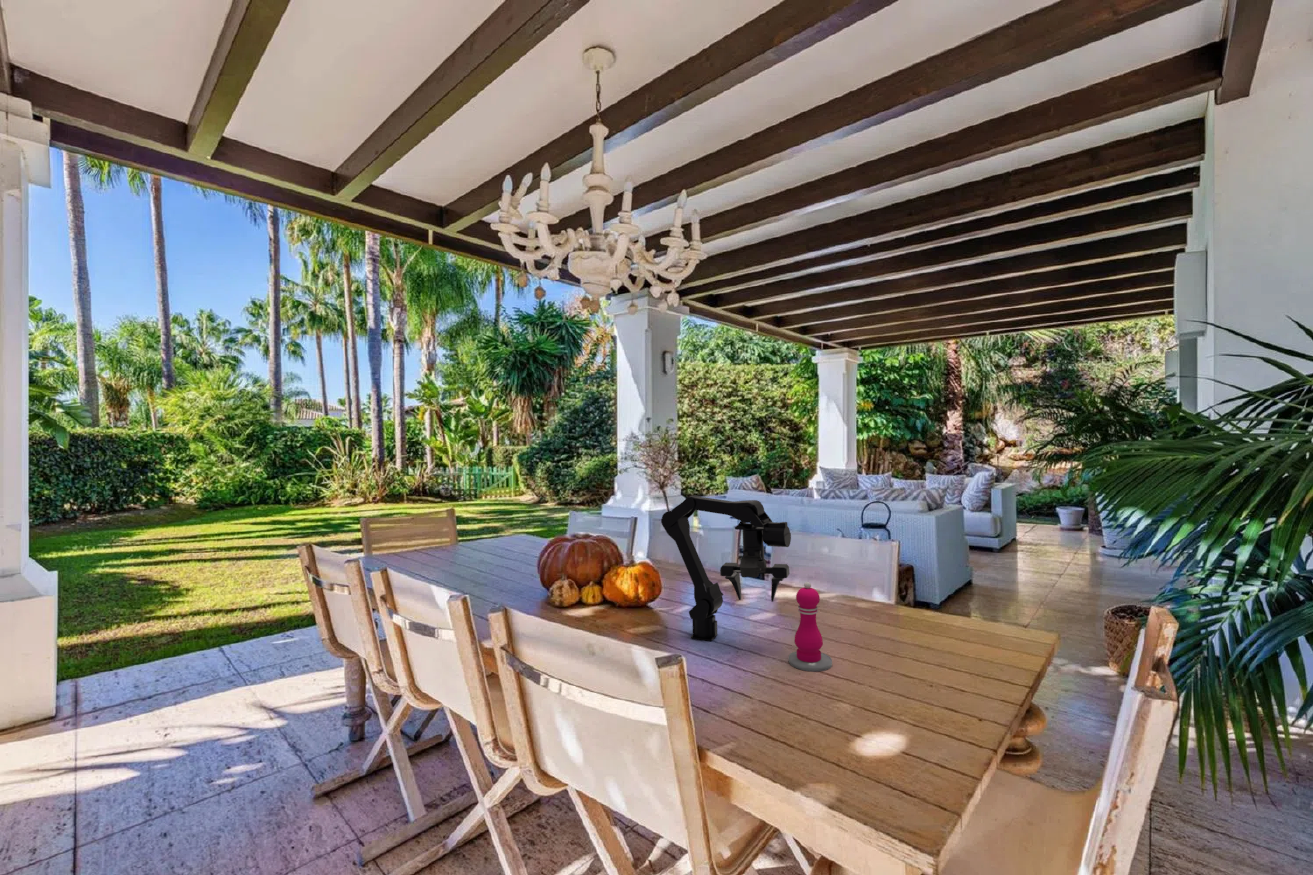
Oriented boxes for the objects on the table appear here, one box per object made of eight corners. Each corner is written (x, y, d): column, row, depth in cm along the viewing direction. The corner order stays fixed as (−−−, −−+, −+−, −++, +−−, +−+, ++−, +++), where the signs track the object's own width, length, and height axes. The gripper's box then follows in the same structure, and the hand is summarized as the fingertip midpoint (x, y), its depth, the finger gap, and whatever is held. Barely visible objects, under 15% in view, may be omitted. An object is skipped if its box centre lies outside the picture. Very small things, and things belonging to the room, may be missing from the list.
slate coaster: (785, 667, 149) (785, 663, 149) (792, 652, 160) (792, 648, 160) (829, 674, 145) (829, 669, 145) (834, 657, 155) (834, 653, 155)
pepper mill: (820, 652, 156) (819, 578, 155) (825, 663, 149) (824, 585, 148) (793, 652, 156) (791, 578, 156) (796, 663, 149) (795, 585, 149)
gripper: (713, 550, 160) (716, 606, 160) (782, 551, 154) (785, 610, 154) (723, 542, 171) (726, 596, 171) (788, 543, 164) (791, 599, 164)
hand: (756, 600), depth 164 cm, fingers open, 9 cm apart
